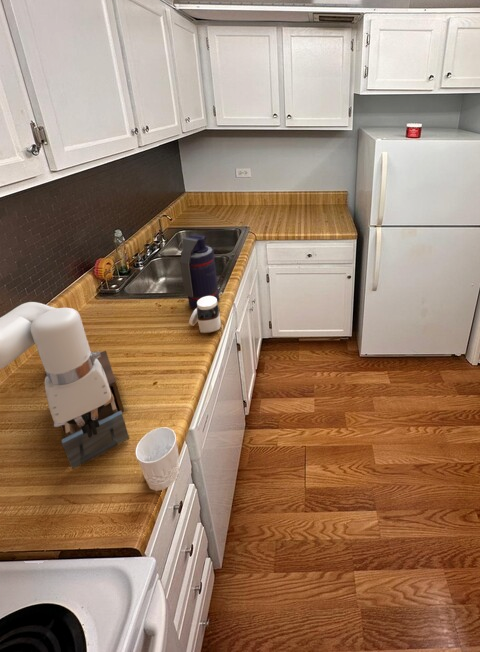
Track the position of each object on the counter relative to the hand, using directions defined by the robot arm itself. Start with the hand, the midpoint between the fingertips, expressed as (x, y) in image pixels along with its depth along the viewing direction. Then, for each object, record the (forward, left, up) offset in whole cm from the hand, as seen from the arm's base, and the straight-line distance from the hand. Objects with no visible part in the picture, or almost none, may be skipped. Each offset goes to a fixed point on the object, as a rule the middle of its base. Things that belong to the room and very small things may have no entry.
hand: (92, 431), depth 73 cm
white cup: (+14, -8, -11) cm, 19 cm away
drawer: (-2, +6, -9) cm, 11 cm away
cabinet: (-6, +18, -10) cm, 22 cm away
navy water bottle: (+24, +58, -10) cm, 64 cm away
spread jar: (+24, +43, -10) cm, 51 cm away
